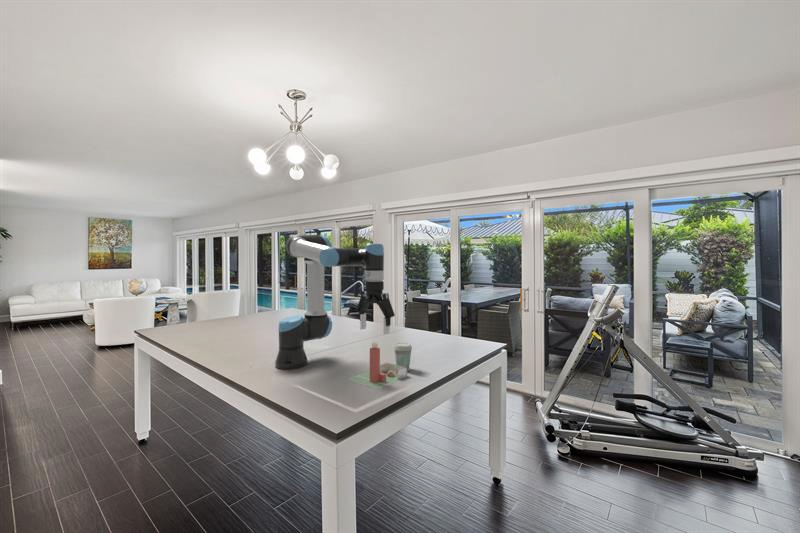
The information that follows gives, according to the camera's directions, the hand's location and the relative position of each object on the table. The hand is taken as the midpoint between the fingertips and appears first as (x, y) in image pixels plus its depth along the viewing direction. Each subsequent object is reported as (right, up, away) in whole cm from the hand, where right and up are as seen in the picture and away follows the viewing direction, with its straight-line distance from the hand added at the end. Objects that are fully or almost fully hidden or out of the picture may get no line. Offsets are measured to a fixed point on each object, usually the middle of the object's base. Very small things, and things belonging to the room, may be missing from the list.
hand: (374, 331), depth 146 cm
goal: (+7, -22, +9) cm, 25 cm away
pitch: (-1, -22, +3) cm, 22 cm away
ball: (+7, -20, +8) cm, 23 cm away
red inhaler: (0, -21, +1) cm, 21 cm away
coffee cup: (+12, -22, +19) cm, 32 cm away
